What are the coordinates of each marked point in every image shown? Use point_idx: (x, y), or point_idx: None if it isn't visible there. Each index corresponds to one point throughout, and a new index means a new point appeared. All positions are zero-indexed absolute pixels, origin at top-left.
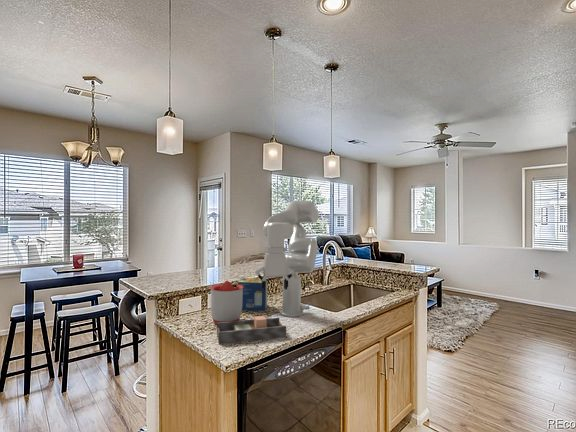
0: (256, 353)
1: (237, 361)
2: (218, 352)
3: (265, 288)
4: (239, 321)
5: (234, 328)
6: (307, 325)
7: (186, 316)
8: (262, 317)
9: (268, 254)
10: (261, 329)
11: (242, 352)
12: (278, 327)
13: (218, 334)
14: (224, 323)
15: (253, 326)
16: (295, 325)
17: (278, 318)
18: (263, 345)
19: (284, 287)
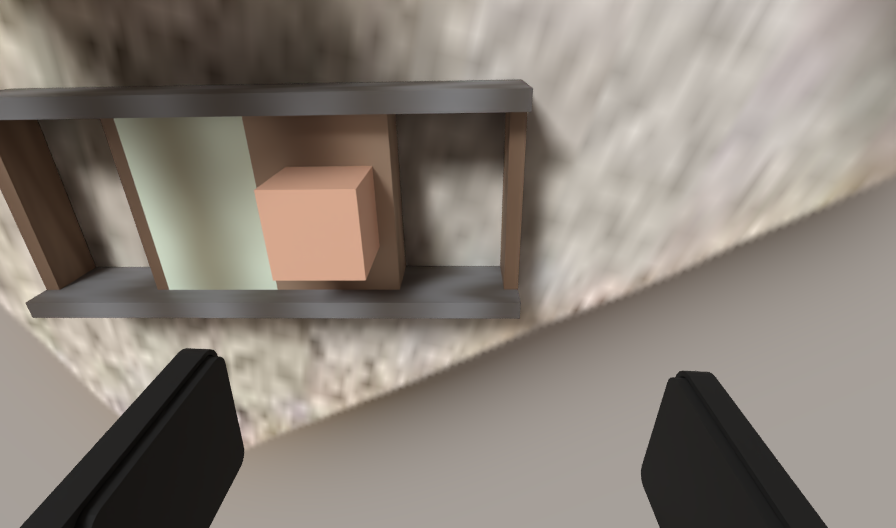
0: (307, 419)
1: None
2: (117, 372)
3: (229, 484)
4: (135, 116)
5: (128, 188)
6: (785, 94)
7: None
8: (333, 228)
9: None
10: (329, 315)
11: (239, 397)
12: (458, 316)
13: (38, 268)
14: (7, 118)
15: None
16: (684, 67)
17: (522, 110)
18: (350, 353)
19: (666, 436)
